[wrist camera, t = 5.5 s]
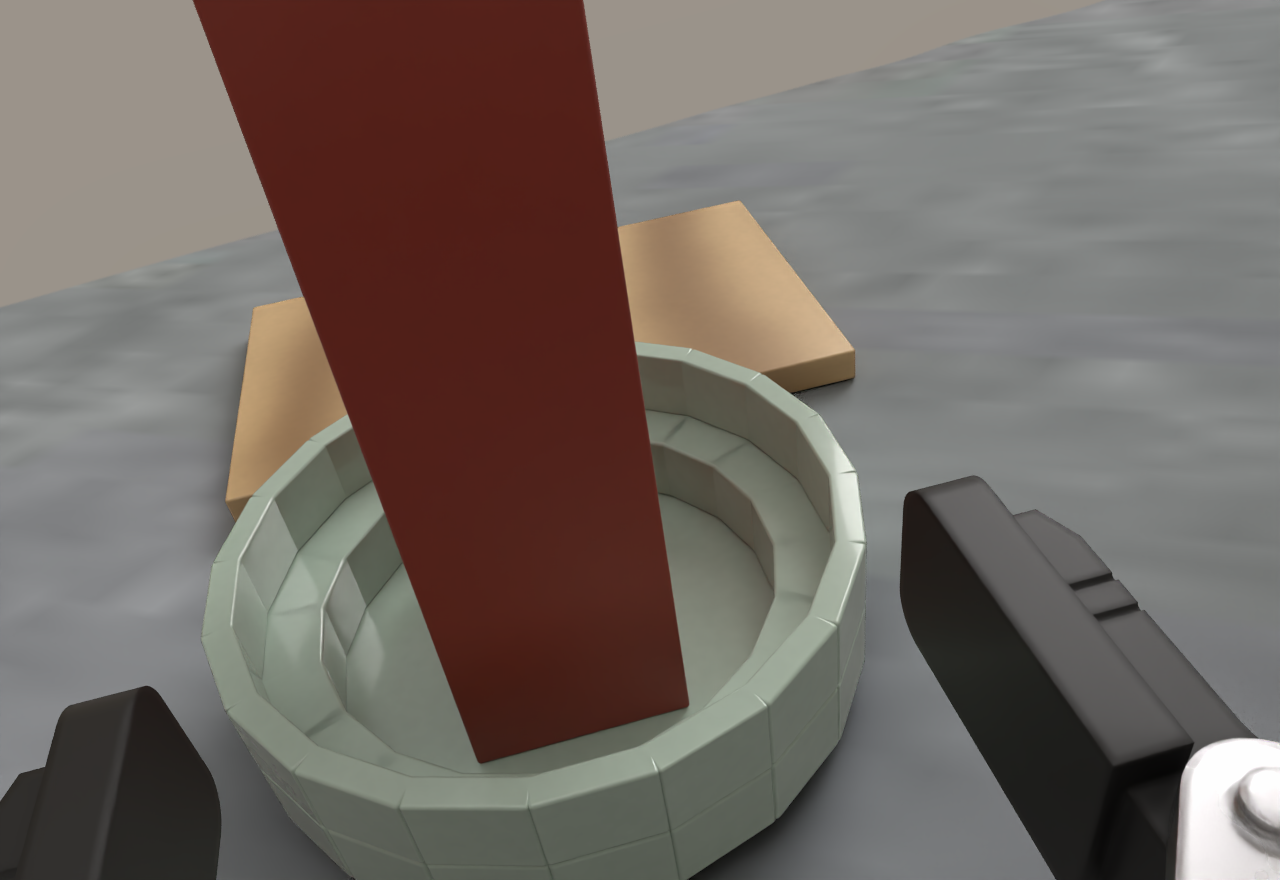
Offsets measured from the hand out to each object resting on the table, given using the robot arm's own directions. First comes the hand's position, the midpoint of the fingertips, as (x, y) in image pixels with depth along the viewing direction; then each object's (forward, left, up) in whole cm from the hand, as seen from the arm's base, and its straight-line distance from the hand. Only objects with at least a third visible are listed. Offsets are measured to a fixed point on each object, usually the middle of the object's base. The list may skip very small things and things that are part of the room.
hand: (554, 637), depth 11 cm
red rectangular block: (0, -8, -9) cm, 12 cm away
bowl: (0, -8, -10) cm, 13 cm away
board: (-1, -21, -10) cm, 23 cm away
